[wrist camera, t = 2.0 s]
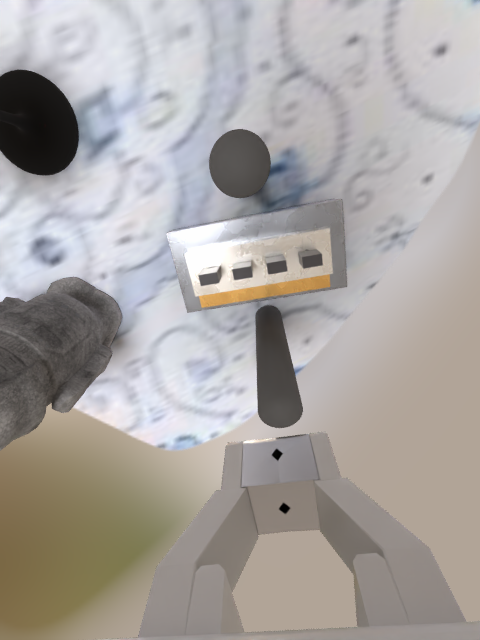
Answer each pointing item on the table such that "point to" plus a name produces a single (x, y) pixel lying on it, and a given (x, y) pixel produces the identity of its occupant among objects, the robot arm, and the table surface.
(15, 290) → the table surface
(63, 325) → the figurine
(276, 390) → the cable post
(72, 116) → the wine glass
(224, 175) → the disc
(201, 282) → the breaker paddles
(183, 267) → the breaker panel
